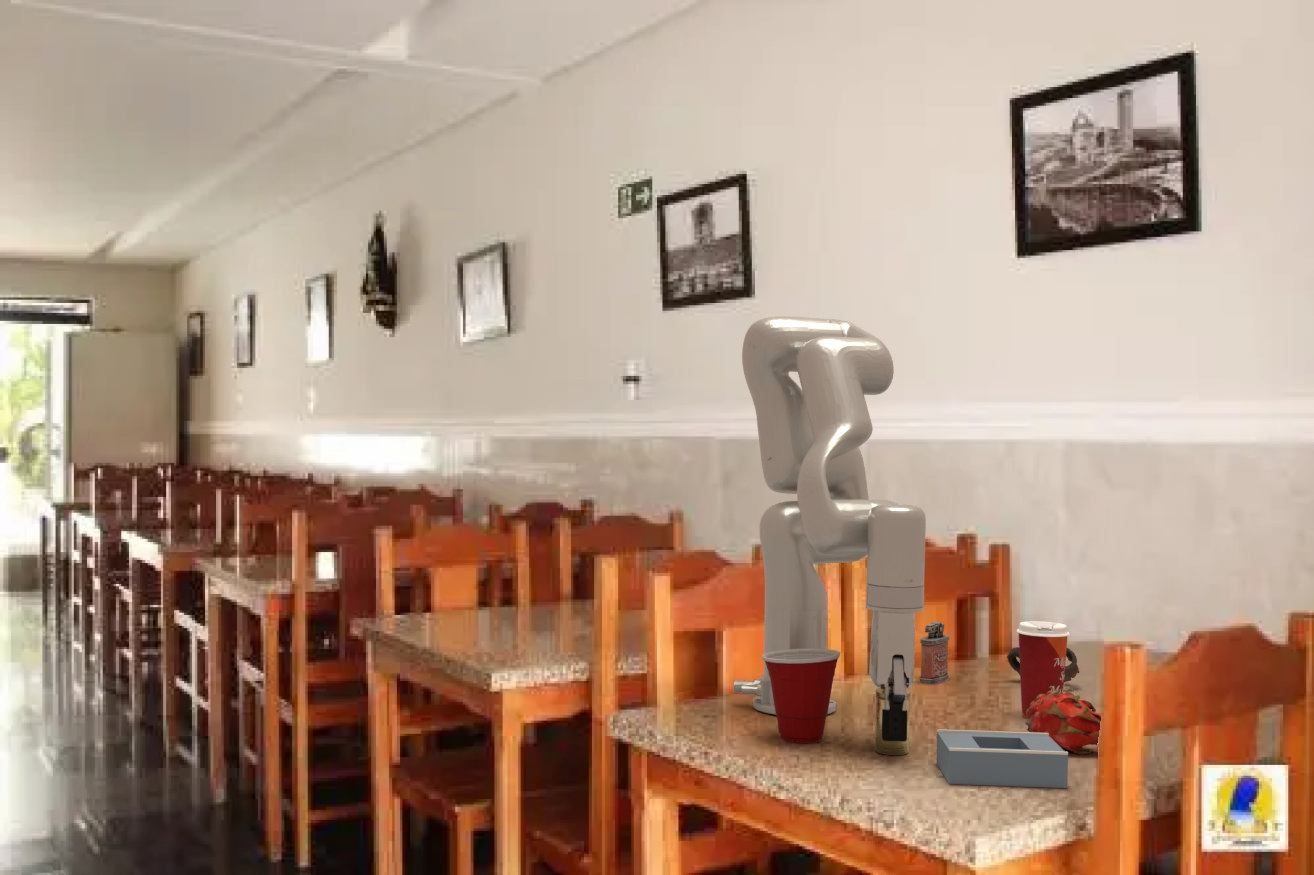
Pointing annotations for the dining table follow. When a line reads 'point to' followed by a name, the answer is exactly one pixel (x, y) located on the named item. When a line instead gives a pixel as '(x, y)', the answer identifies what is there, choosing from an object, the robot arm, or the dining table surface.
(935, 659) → the lighter
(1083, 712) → the dragon fruit
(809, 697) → the plastic cup
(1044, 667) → the paper cup
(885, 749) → the brass flanged cylinder
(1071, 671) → the pottery mug
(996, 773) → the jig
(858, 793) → the dining table surface
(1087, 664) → the dining table surface
